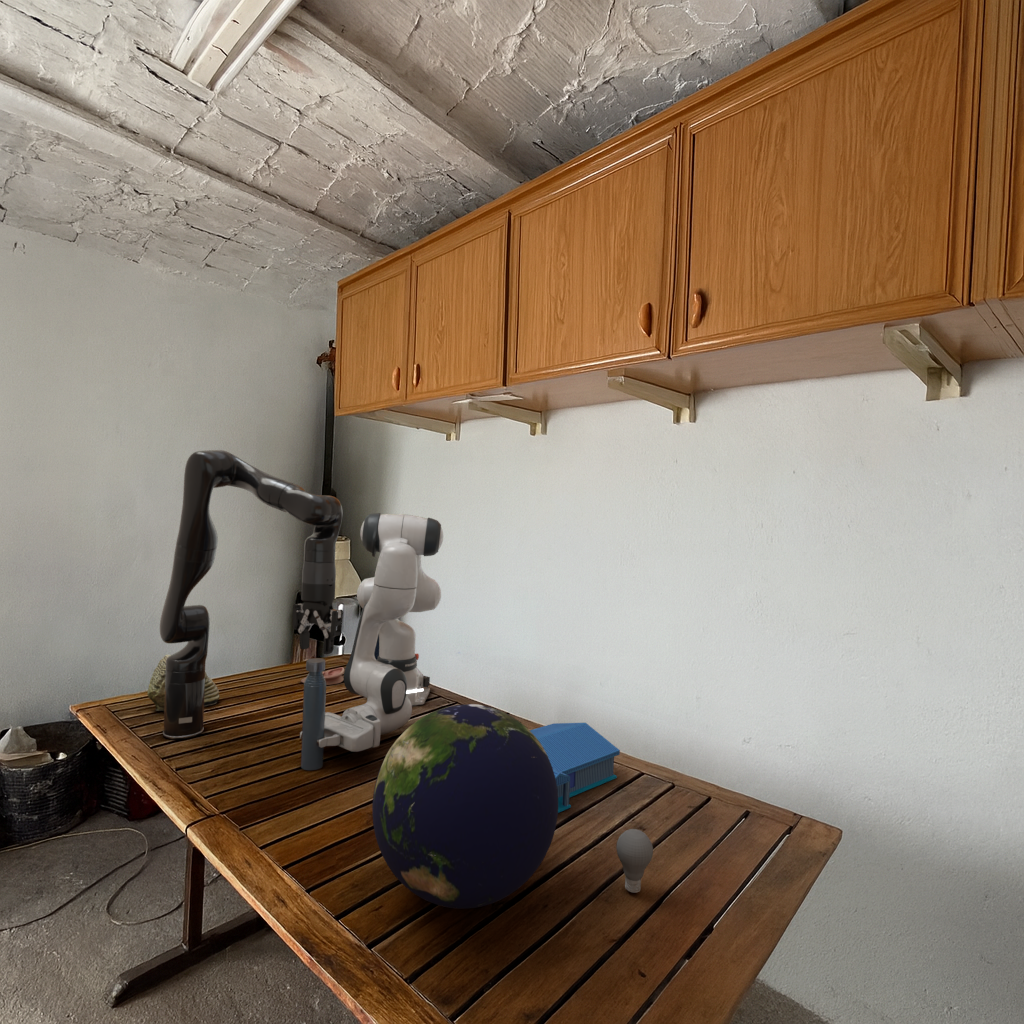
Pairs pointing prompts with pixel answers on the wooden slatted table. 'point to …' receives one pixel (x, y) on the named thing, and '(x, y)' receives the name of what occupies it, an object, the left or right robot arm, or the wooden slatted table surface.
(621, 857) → the light bulb
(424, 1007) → the wooden slatted table surface
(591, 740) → the model building
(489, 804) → the globe
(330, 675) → the anatomical model
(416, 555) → the right robot arm
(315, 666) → the cap
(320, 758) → the bottle
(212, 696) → the fossil
